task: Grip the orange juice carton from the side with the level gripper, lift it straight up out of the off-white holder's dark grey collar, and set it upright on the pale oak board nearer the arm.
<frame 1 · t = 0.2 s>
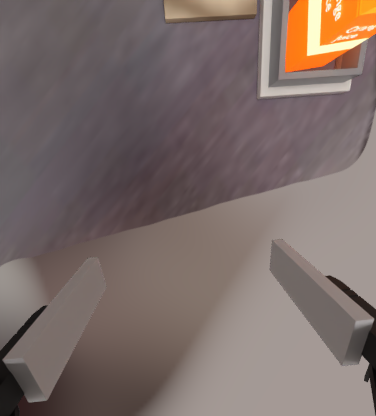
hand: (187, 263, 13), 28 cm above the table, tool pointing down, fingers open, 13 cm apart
collar holder: (305, 42, 33), on the table
orange juice: (304, 43, 33), resting in collar holder
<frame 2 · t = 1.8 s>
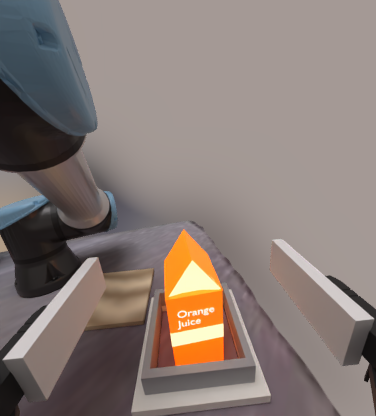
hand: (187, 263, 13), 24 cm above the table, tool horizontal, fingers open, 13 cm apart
collar holder: (195, 339, 31), on the table
oak board: (116, 296, 42), on the table
orange juice: (195, 340, 31), resting in collar holder
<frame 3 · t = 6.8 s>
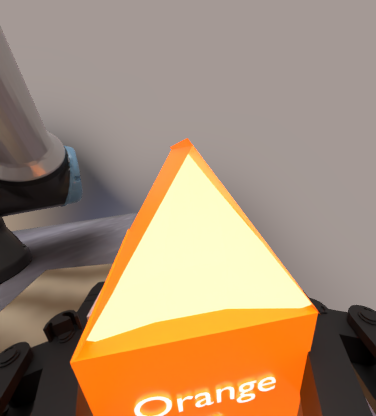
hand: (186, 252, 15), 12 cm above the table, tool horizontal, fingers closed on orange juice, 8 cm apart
oak board: (65, 306, 25), on the table
orange juice: (201, 413, 14), resting in collar holder, touching gripper
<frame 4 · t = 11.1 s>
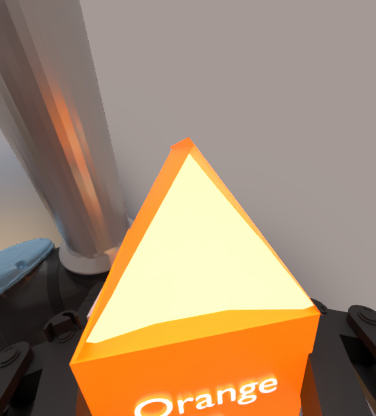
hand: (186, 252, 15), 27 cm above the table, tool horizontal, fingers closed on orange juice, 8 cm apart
orange juice: (202, 413, 14), point 16 cm above the table, touching gripper
when the fingers open (13 cm above the table, at t = 15.5 s): orange juice stays where it is, resting on oak board.
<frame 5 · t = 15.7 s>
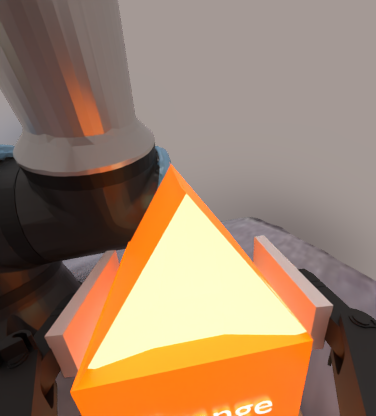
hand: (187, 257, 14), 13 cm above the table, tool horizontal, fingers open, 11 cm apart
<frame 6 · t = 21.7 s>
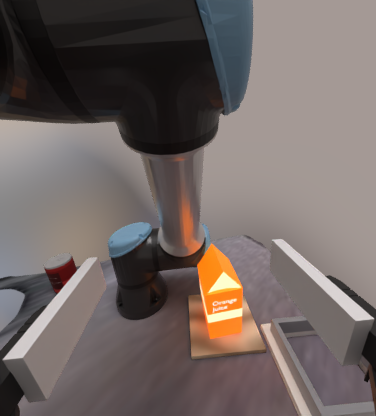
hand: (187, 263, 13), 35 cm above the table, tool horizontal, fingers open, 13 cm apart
collar holder: (326, 370, 34), on the table
oak board: (220, 320, 45), on the table
orange juice: (220, 317, 44), point 1 cm above the table, touching arm, oak board
canned food: (68, 286, 62), on the table
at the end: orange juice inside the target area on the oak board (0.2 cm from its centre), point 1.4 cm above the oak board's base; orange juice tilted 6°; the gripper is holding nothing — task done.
